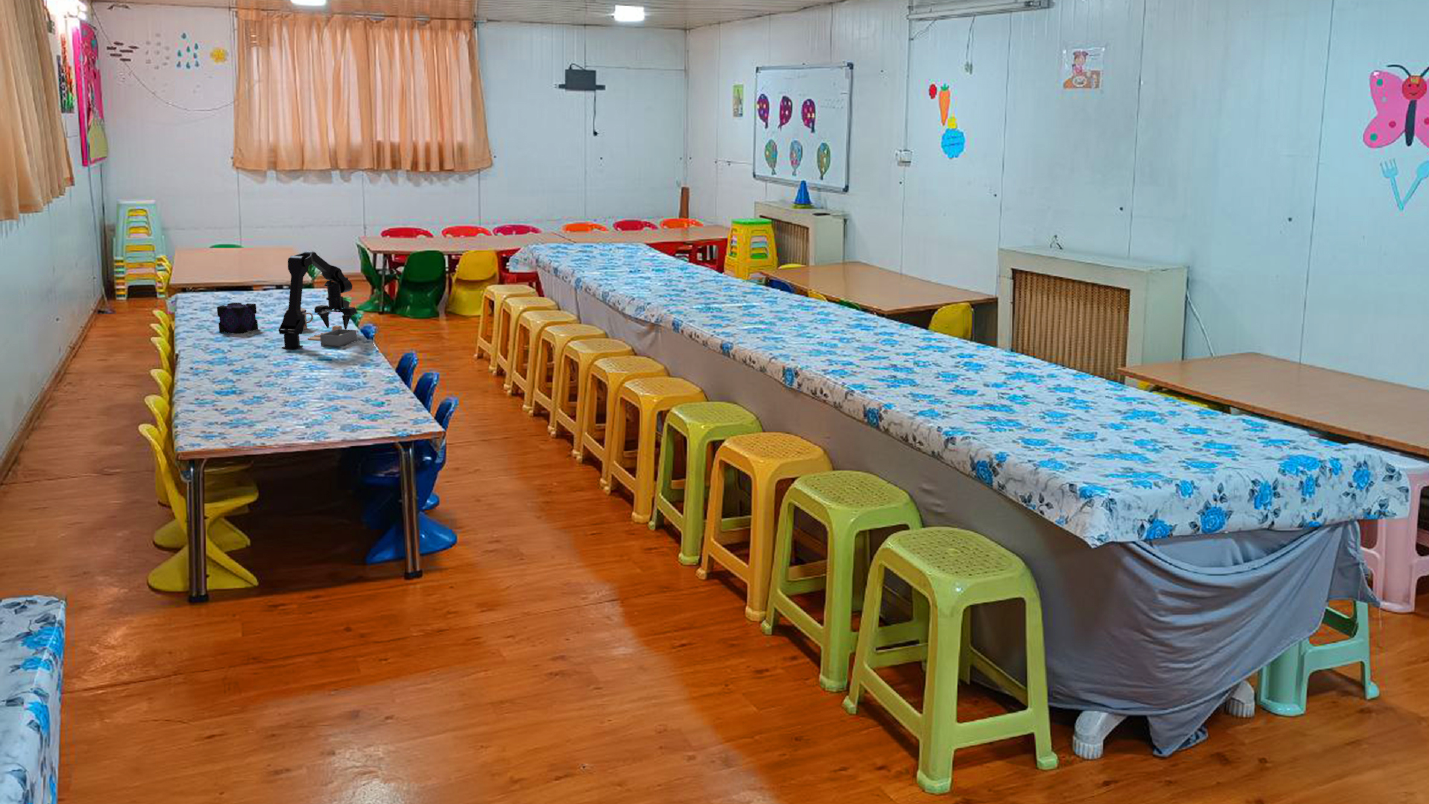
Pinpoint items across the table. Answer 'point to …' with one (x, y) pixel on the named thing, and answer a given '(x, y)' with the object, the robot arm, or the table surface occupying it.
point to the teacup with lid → (305, 318)
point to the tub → (338, 338)
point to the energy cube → (237, 318)
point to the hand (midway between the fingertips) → (336, 328)
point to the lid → (317, 337)
